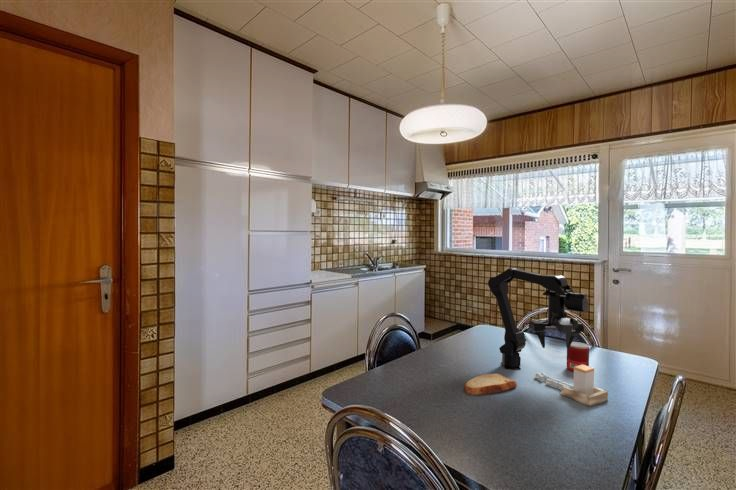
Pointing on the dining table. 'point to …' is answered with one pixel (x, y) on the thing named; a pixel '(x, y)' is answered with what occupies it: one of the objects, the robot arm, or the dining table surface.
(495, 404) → the dining table surface
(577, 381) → the orange-topped block
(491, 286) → the robot arm
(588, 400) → the holder
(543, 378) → the clip
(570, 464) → the dining table surface
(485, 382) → the bread slice
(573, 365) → the canned food
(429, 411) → the dining table surface
